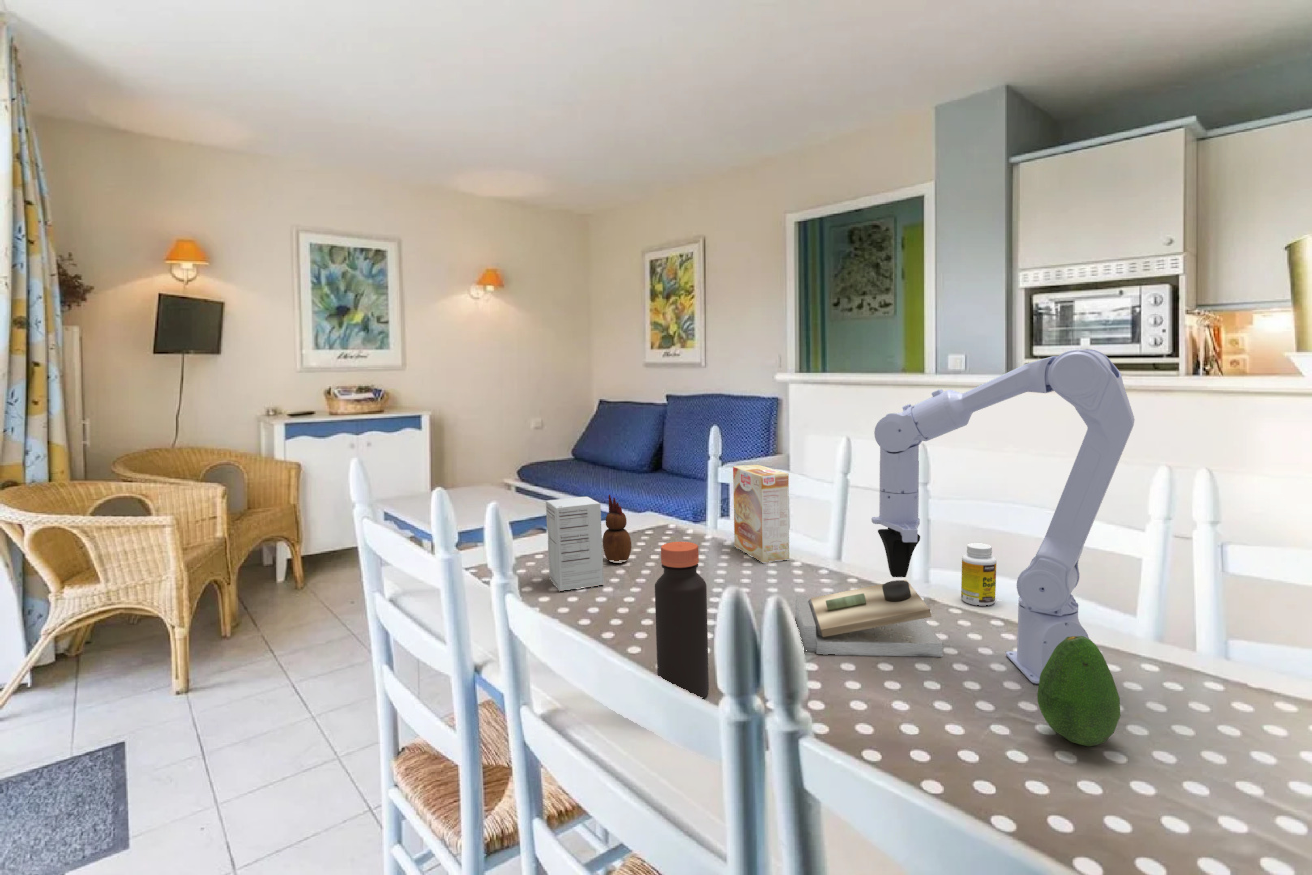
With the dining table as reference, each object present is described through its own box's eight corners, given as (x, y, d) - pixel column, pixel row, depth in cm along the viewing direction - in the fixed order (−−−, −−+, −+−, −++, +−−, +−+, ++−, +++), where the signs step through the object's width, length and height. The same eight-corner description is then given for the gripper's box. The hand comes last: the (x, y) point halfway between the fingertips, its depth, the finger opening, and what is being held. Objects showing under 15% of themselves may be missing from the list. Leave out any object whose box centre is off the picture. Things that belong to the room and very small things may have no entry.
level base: (942, 656, 101) (942, 630, 101) (804, 654, 103) (804, 628, 103) (914, 616, 117) (914, 593, 116) (794, 615, 119) (794, 592, 119)
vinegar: (666, 708, 88) (661, 555, 86) (652, 685, 95) (647, 542, 93) (716, 700, 90) (713, 550, 88) (699, 678, 96) (695, 537, 94)
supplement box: (605, 586, 138) (601, 503, 136) (559, 593, 134) (555, 507, 133) (591, 573, 147) (588, 495, 145) (548, 579, 143) (544, 499, 142)
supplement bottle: (983, 609, 119) (985, 551, 118) (954, 600, 124) (955, 544, 123) (1002, 602, 123) (1003, 546, 121) (972, 594, 127) (973, 539, 126)
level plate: (931, 616, 102) (927, 596, 101) (818, 637, 104) (814, 617, 104) (907, 586, 115) (903, 568, 115) (808, 605, 118) (804, 587, 117)
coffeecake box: (733, 547, 164) (731, 465, 162) (760, 544, 166) (759, 463, 164) (761, 564, 150) (760, 475, 148) (790, 560, 152) (790, 472, 150)
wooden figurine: (600, 560, 157) (597, 494, 155) (623, 556, 159) (621, 492, 157) (610, 567, 150) (608, 499, 149) (635, 563, 153) (633, 496, 151)
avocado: (1088, 721, 82) (1092, 623, 81) (1135, 758, 75) (1139, 651, 73) (1021, 723, 82) (1024, 626, 81) (1061, 761, 74) (1065, 654, 73)
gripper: (863, 482, 115) (863, 562, 116) (882, 499, 100) (881, 590, 102) (907, 482, 114) (906, 562, 115) (932, 499, 100) (931, 591, 101)
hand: (898, 575), depth 108 cm, fingers closed
